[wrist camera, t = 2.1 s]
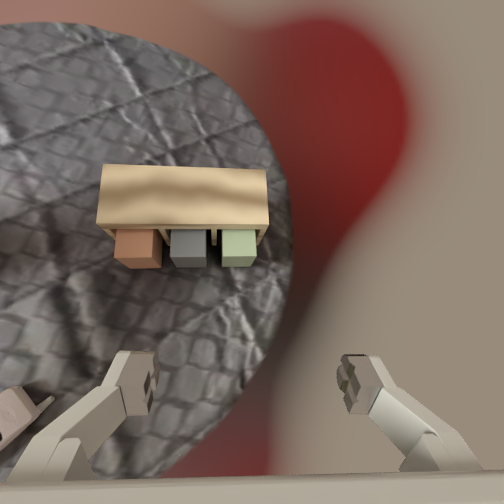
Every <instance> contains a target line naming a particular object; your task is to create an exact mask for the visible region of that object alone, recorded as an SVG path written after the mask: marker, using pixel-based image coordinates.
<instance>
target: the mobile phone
mask: <svg viewBox="0 0 504 504" xmlns="http://www.w3.org/2000/svg"><path fill="white" fill-rule="evenodd" d="M54 400H55V398H54V396H50V397H48V398H47V399H46V400H44V401H43V402H41V403H40V404H38V405H37V406H35V404H34V403H33V402H32V400H31V399H30V398H29V396H28V395H27V394H26V392H25V391H24V390H23V388H22V387H21V386H14V387H10V388H8V389H6V390H5V391H3V392H2V393H1V394H0V451H1V450H2V449H3V448H5V447H6V446H7V445H8V444H9V443H10V442H11V441H12V440H14V439H15V438H16V437H17V436H18V435H19V434H20V433H21V432H23V431H24V430H25V429H26V428H27V426H29V425H30V424H31V423H32V422H33V421H34V420H35V419H36V418H38V416H39V414H41V413H42V412H43V411H44V410H45V409H46V408H47V407H48V406H49V405H50V404H51V403H52V402H53V401H54Z"/></svg>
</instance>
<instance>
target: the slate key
mask: <svg viewBox="0 0 504 504" xmlns="http://www.w3.org/2000/svg"><path fill="white" fill-rule="evenodd" d="M170 258H171V260H172V261H173V263H174V264H175V266H176V267H177V268H195V267H207V229H171V243H170Z"/></svg>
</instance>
